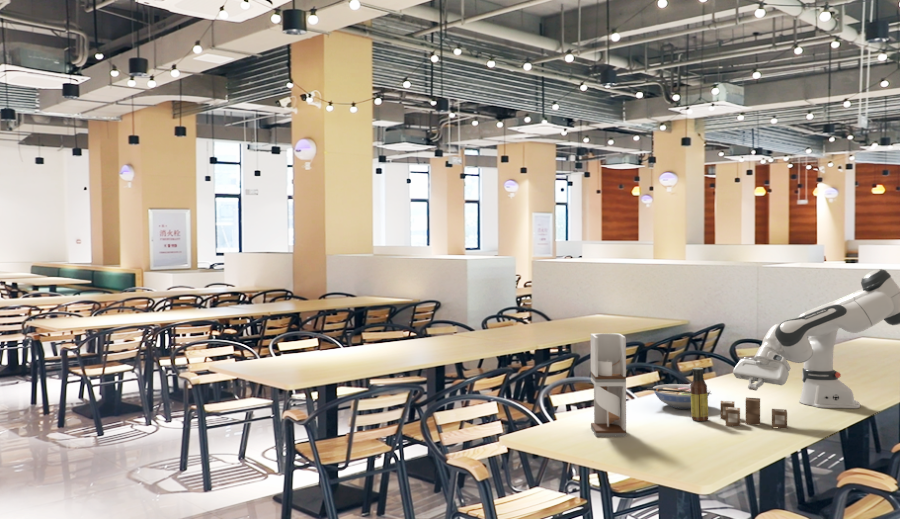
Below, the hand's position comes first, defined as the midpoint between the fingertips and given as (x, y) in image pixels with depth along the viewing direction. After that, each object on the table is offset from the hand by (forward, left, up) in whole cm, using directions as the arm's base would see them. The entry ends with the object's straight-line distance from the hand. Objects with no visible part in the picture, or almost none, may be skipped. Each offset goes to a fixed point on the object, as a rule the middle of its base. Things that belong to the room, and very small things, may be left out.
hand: (752, 389), depth 291 cm
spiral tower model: (+49, +30, -13) cm, 59 cm away
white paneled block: (+9, -6, -13) cm, 16 cm away
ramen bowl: (+27, -20, -13) cm, 36 cm away
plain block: (0, 0, -13) cm, 13 cm away
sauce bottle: (+19, +1, -13) cm, 23 cm away
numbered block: (-9, +3, -13) cm, 16 cm away
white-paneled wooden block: (+7, +5, -13) cm, 15 cm away
